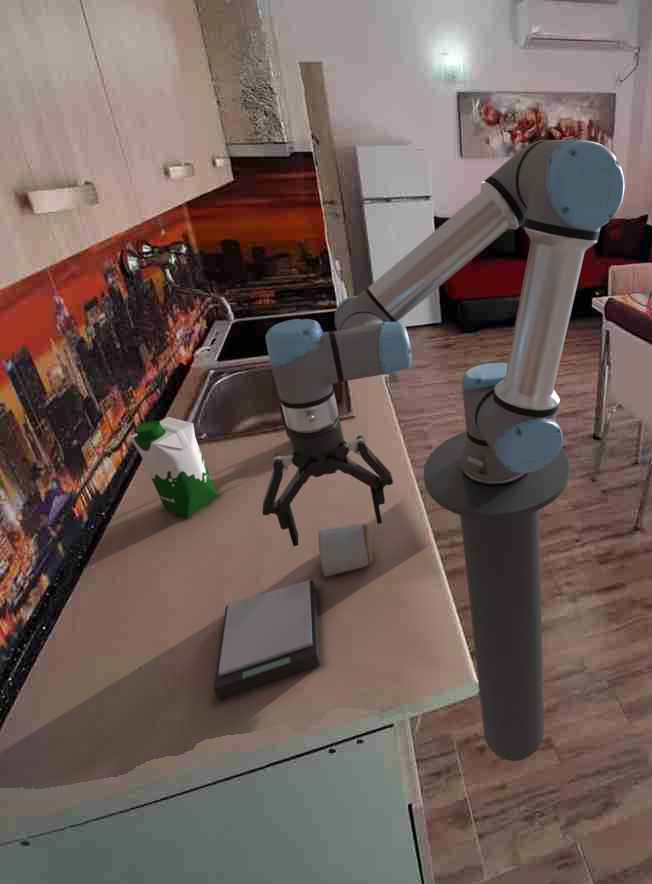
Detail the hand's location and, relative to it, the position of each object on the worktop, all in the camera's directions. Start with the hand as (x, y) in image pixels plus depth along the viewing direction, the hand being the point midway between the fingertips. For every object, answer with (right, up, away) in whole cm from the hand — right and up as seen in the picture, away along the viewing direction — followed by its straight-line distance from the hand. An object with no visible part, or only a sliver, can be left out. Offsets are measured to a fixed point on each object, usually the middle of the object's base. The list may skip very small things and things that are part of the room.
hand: (338, 529), depth 86 cm
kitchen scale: (-6, -13, -10) cm, 18 cm away
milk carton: (-37, 0, +20) cm, 41 cm away
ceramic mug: (+1, -6, +3) cm, 7 cm away
